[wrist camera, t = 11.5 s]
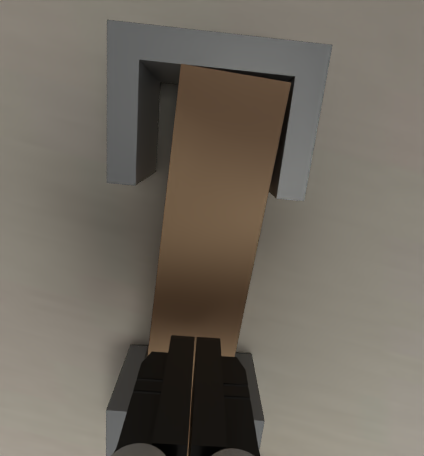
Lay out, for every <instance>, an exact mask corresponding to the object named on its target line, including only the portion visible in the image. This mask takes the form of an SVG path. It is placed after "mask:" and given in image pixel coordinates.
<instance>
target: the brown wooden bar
mask: <svg viewBox="0 0 424 456" xmlns="http://www.w3.org/2000/svg"><path fill="white" fill-rule="evenodd" d="M290 86H291V82H285V81H279V80H273V79H267V78H261V77H256V76H250V75H244V74H238V73H232V72H226V71H221V70H215V69H209V68H203V67H197V66H191V65H186V64H181V68H180V77H179V86H178V94H177V103H176V112H175V120H174V129H173V138H172V147H171V155H170V164H169V173H168V182H167V190H166V199H165V208H164V217H163V225H162V234H161V243H160V252H159V260H158V269H157V278H156V286H155V295H154V304H153V313H152V321H151V330H150V339H149V348H148V355H149V354H150V353H151V352H152V351H153V352H167V353H168V350H169V345H170V339H171V335H177V336H192V337H195V341H194V357H193V373H194V362H195V350H196V339H197V337H207V338H220V341H221V356H228V357H235V352H236V347H237V343H238V338H239V333H240V328H241V323H242V318H243V313H244V309H245V304H246V299H247V294H248V289H249V284H250V280H251V275H252V270H253V265H254V260H255V255H256V250H257V246H258V241H259V236H260V231H261V226H262V221H263V217H264V212H265V207H266V202H267V197H268V192H269V187H270V183H271V178H272V173H273V168H274V163H275V158H276V154H277V149H278V144H279V139H280V134H281V129H282V124H283V120H284V115H285V110H286V105H287V100H288V95H289V91H290ZM193 373H192V384H193ZM191 398H192V389H191ZM190 414H191V405H190ZM189 431H190V421H189ZM188 447H189V437H188ZM187 456H188V451H187Z"/></svg>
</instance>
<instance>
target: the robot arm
mask: <svg viewBox="0 0 424 456" xmlns="http://www.w3.org/2000/svg"><path fill="white" fill-rule="evenodd" d="M194 341H195V337H192V336H177V335H171V339H170V345H169V350H168V353H167V352H153V351H152V352H151V353H150V354H149V355H148V356H147V357H146V358H145V359H144V361H143V362H142V363H141V365H140V369H139V372H138V376H137V381H136V383H135V386H134V389H133V393H132V396H131V400H130V403H129V406H128V410H127V413H126V417H125V420H124V424H123V427H122V430H121V434H120V437H119V441H118V444H117V447H116V449H115V451H114V453H113V454H112V455H111V456H187V451H188V456H260V453H259V448H258V442H257V435H256V429H255V423H254V417H253V411H252V405H251V400H250V393H249V388H248V381H247V375H246V370H245V368H244V367H243V365H242V364H241V362H240V361H239V360H238V358H237V357H228V356H221V341H220V338H207V337H197V339H196V350H195V362H194V373H193V357H194ZM192 373H193V384H192ZM191 389H192V398H191ZM190 405H191V414H190ZM189 421H190V431H189ZM188 437H189V447H188Z"/></svg>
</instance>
